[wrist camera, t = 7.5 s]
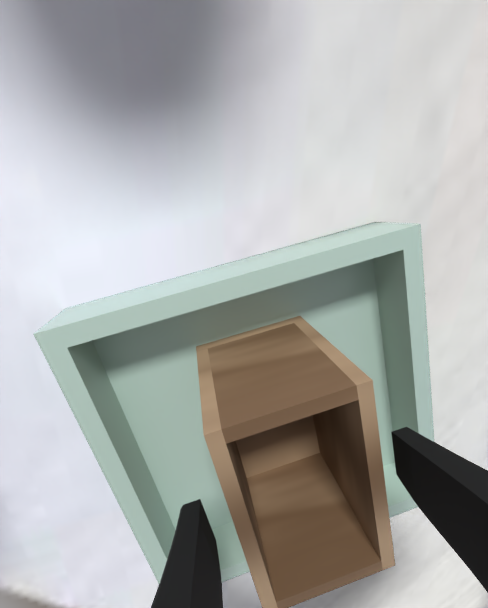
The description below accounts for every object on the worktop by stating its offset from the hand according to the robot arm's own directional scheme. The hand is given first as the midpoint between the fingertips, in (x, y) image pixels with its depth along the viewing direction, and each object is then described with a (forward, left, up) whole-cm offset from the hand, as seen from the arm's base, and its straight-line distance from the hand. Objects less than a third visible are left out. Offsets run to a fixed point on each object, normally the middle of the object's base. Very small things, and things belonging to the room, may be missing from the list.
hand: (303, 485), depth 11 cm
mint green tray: (0, 0, -6) cm, 6 cm away
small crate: (0, 0, -5) cm, 5 cm away
